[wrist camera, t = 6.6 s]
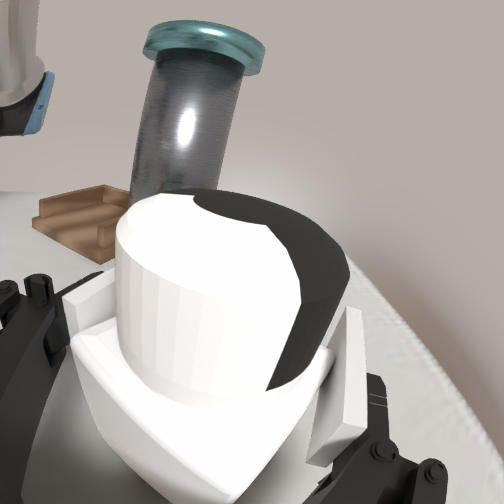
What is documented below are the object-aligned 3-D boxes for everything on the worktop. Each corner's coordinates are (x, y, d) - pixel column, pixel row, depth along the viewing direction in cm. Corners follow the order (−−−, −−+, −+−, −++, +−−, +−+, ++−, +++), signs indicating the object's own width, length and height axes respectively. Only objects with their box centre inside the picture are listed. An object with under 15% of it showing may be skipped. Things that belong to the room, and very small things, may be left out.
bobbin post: (76, 303, 18) (104, 26, 11) (146, 261, 27) (181, 60, 20) (184, 364, 17) (256, 11, 9) (236, 296, 26) (291, 70, 18)
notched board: (32, 227, 27) (31, 200, 26) (102, 204, 40) (104, 183, 38) (100, 264, 24) (100, 231, 23) (172, 228, 37) (176, 204, 36)
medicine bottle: (187, 373, 16) (221, 173, 11) (286, 438, 13) (392, 236, 8) (97, 433, 10) (51, 183, 5) (207, 529, 7) (336, 360, 2)
